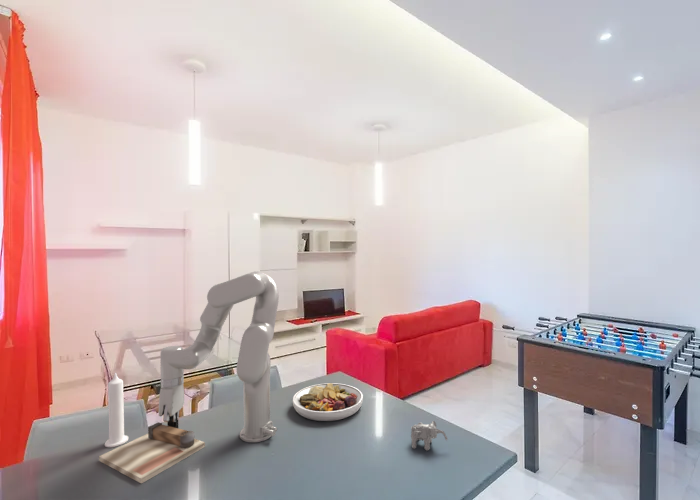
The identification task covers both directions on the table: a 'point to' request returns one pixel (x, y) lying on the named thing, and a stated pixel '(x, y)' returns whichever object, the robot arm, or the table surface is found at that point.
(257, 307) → the robot arm
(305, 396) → the bowl
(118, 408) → the candle
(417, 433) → the gray elephant figurine
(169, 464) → the ash board
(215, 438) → the table surface
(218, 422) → the table surface
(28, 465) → the table surface
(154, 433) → the bar
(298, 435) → the table surface
